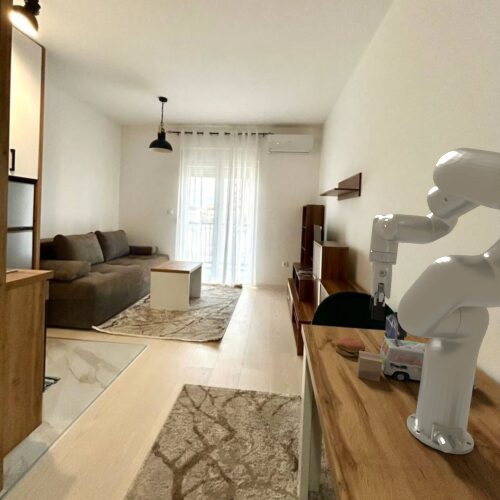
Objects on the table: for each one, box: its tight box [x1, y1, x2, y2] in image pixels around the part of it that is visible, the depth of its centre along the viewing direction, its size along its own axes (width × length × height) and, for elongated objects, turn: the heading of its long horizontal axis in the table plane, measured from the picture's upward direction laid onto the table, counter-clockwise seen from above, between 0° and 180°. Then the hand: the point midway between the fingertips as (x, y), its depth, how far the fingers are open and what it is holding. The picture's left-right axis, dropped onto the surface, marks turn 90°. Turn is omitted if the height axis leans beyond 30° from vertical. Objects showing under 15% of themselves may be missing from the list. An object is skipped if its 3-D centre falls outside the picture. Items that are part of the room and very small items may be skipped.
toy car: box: [379, 339, 478, 390], centre depth 97 cm, size 11×25×10 cm, turn 77°
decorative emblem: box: [382, 311, 408, 343], centre depth 117 cm, size 12×2×15 cm, turn 0°
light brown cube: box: [356, 350, 382, 383], centre depth 97 cm, size 6×6×6 cm
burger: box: [334, 337, 366, 358], centre depth 114 cm, size 10×9×5 cm
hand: (376, 315), depth 96 cm, fingers open, 9 cm apart
